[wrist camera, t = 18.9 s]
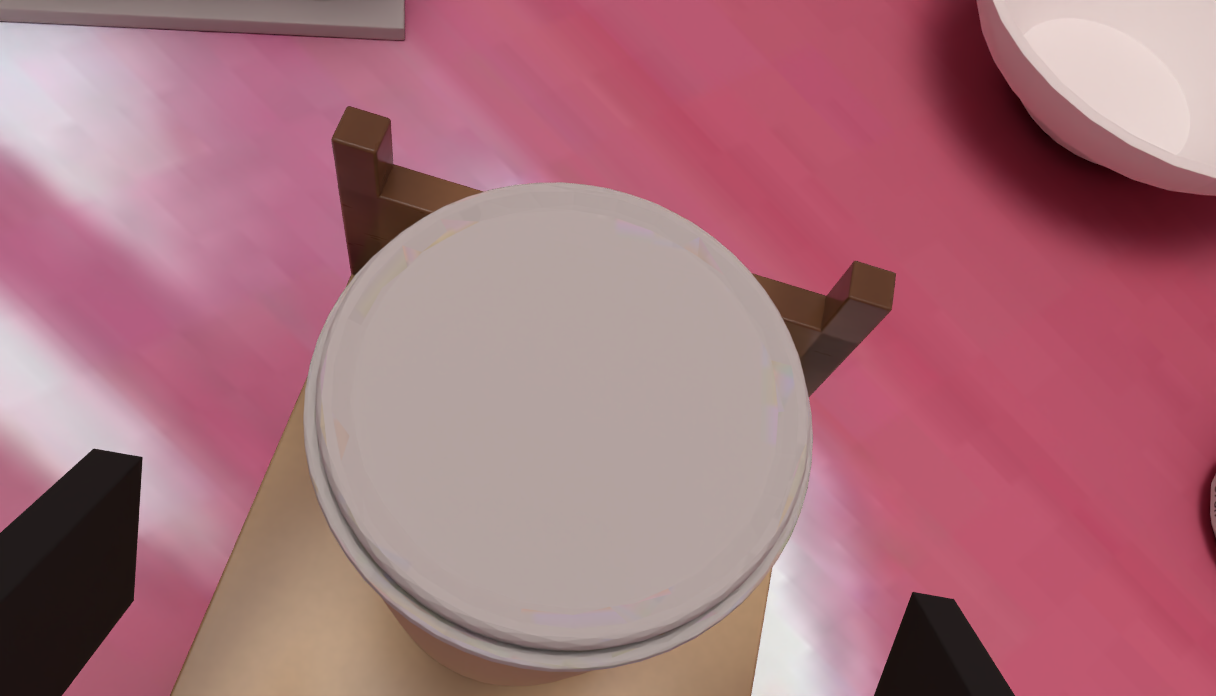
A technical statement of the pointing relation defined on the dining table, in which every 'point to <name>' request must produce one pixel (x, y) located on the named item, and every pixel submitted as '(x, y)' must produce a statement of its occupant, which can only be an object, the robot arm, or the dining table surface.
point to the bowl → (1116, 81)
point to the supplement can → (1213, 505)
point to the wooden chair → (348, 606)
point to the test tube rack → (223, 15)
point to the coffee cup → (557, 431)
